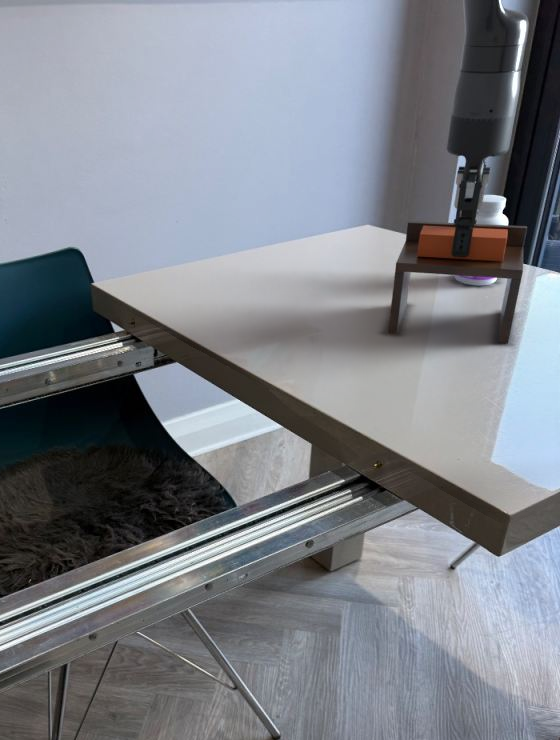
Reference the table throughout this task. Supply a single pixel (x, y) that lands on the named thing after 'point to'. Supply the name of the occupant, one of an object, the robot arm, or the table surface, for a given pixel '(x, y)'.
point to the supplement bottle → (489, 216)
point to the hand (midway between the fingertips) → (461, 250)
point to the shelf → (460, 271)
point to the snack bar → (482, 245)
